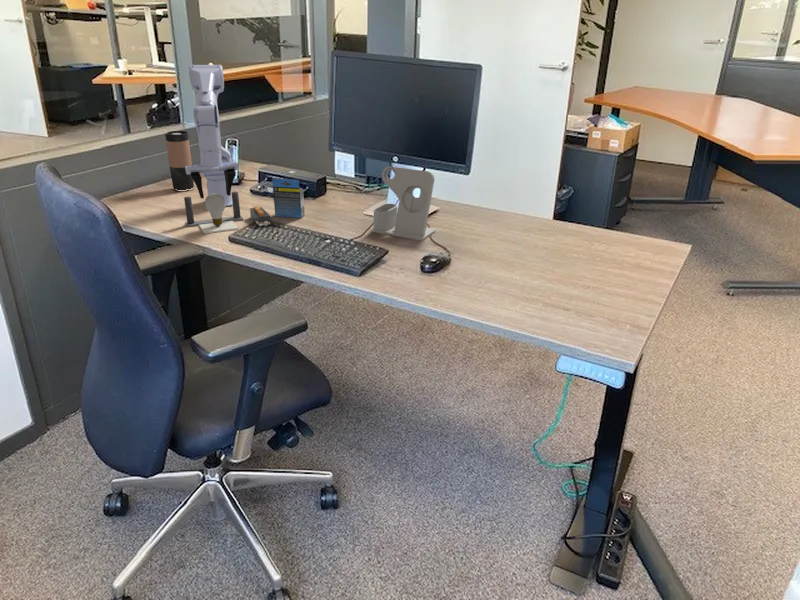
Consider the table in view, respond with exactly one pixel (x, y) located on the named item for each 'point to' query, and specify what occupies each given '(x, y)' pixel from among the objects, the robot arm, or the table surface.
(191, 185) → the travel mug
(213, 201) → the light bulb
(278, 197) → the blue retail box
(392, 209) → the phone holder
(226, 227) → the mat
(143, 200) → the table surface
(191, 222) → the cable posts
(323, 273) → the table surface
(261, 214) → the terminal block
